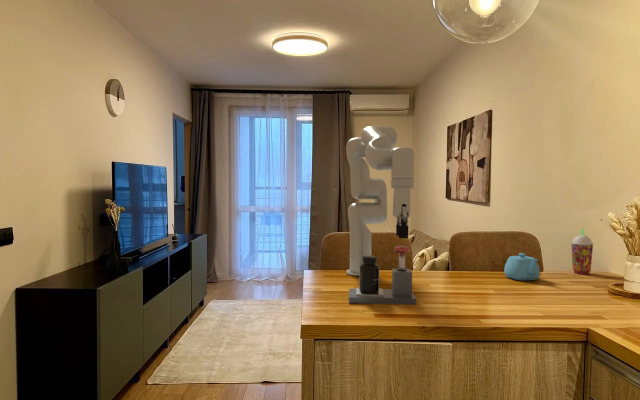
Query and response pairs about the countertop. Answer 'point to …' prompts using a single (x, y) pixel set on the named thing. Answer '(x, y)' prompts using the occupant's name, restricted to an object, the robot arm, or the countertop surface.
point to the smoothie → (582, 254)
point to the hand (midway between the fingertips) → (402, 236)
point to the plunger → (402, 256)
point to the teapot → (522, 268)
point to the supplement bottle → (369, 275)
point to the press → (388, 291)
